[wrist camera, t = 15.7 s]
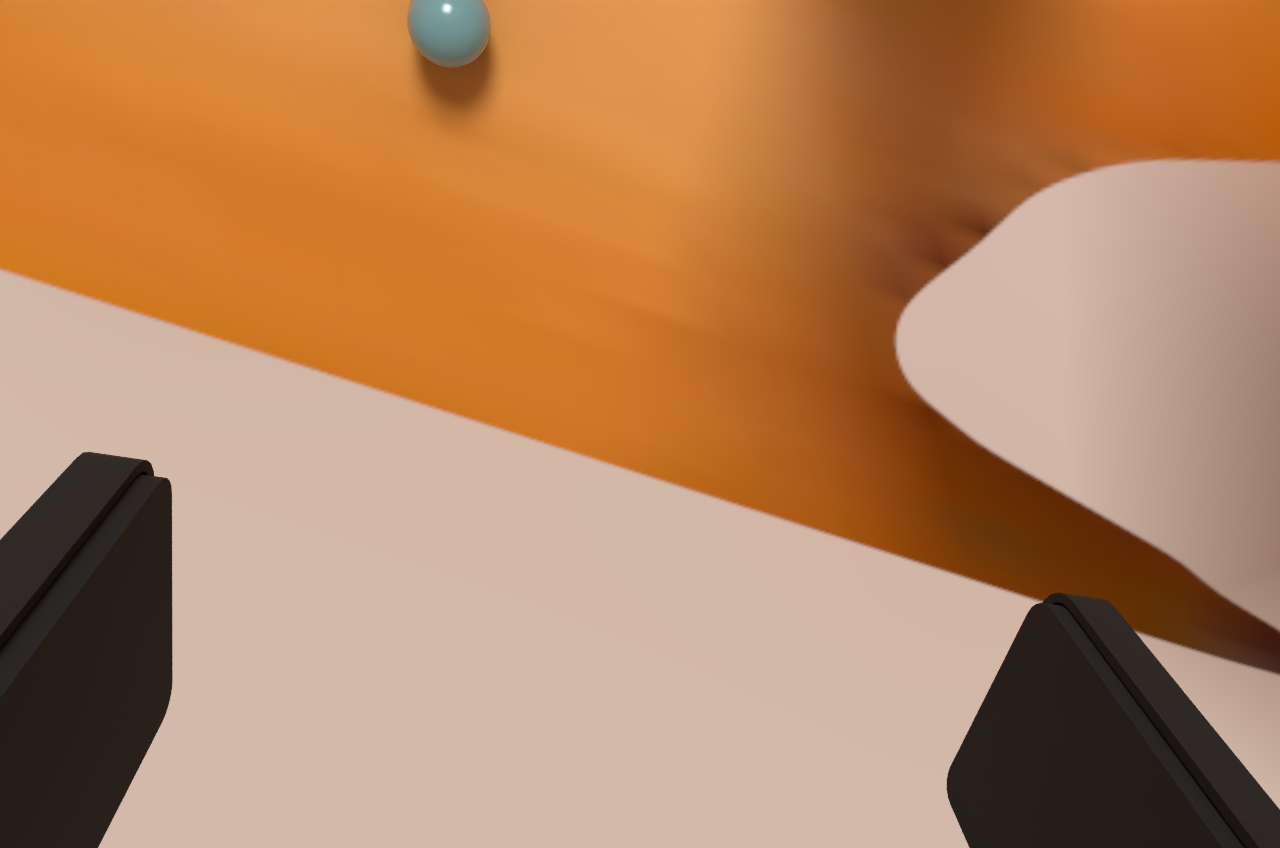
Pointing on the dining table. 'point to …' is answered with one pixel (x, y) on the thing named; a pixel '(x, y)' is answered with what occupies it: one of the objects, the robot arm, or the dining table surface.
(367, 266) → the dining table surface
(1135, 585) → the dining table surface
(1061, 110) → the dining table surface
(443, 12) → the marble
